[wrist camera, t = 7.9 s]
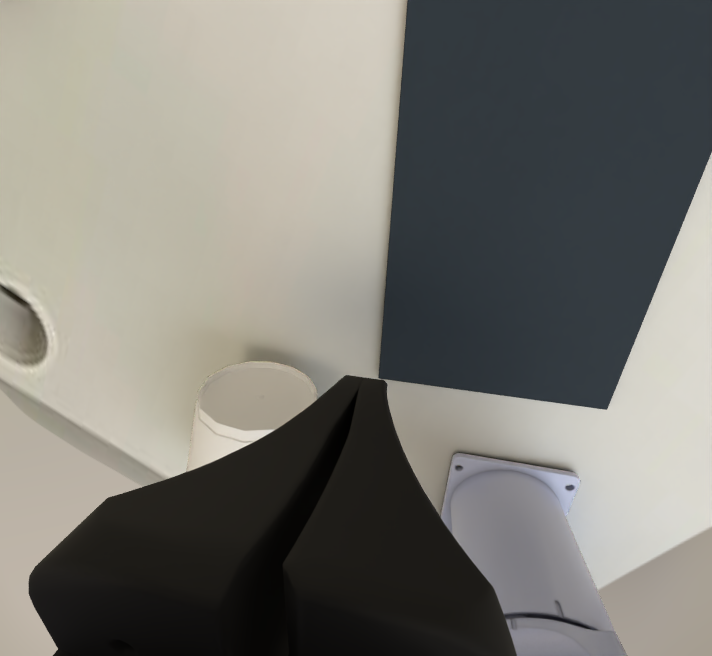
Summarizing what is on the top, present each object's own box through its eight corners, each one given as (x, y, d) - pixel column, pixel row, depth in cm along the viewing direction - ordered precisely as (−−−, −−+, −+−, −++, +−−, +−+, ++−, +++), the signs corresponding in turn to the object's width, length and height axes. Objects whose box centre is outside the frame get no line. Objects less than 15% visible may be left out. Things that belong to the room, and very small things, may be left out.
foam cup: (163, 482, 12) (180, 655, 18) (374, 432, 17) (337, 581, 22) (164, 355, 20) (175, 503, 25) (310, 343, 24) (293, 471, 29)
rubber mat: (604, 406, 19) (607, 409, 19) (379, 376, 22) (378, 378, 21) (790, -56, 12) (798, -62, 11) (410, -30, 14) (410, -35, 14)
